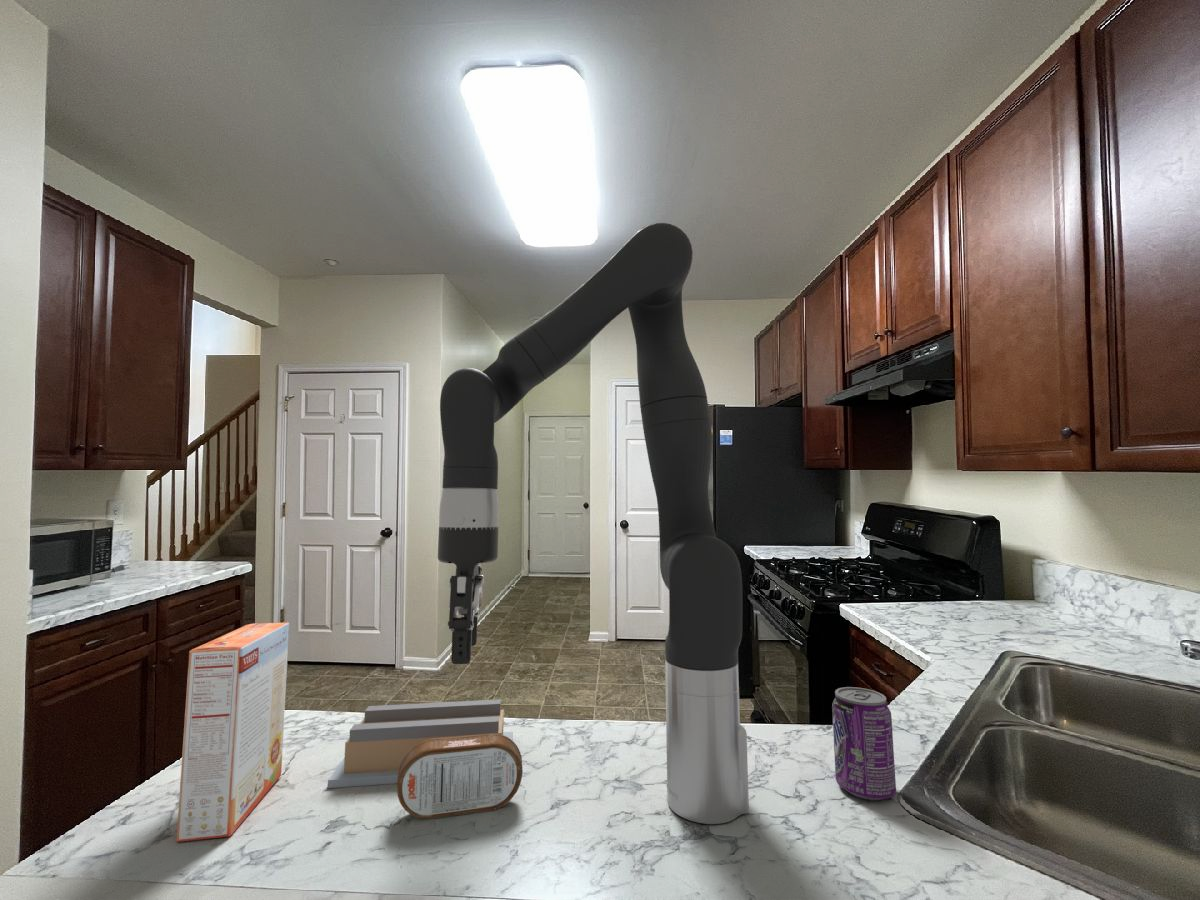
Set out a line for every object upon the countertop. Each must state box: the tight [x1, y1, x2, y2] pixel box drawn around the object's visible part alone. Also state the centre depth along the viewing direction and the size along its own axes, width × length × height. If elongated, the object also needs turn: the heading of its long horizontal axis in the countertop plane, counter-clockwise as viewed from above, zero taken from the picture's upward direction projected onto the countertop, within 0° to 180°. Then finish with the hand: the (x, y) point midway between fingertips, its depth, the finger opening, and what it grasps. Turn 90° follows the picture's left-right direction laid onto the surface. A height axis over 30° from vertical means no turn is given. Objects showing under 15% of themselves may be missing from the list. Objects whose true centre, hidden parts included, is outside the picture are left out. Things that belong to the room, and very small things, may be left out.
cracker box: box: [176, 622, 290, 843], centre depth 66 cm, size 14×6×21 cm, turn 10°
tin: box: [396, 734, 523, 820], centre depth 65 cm, size 15×3×8 cm, turn 104°
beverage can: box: [831, 686, 897, 801], centre depth 69 cm, size 7×7×12 cm
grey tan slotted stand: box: [327, 699, 514, 789], centre depth 77 cm, size 24×12×7 cm, turn 98°
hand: (464, 653), depth 66 cm, fingers open, 8 cm apart
